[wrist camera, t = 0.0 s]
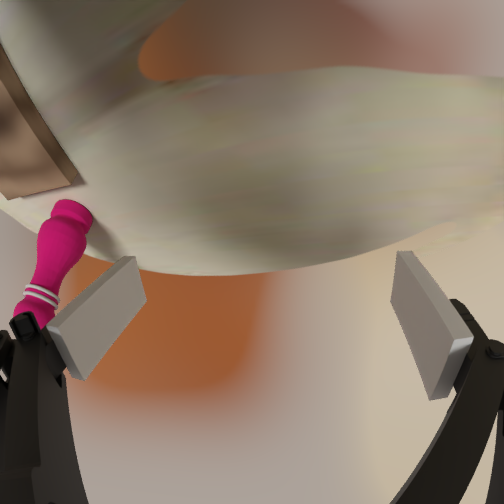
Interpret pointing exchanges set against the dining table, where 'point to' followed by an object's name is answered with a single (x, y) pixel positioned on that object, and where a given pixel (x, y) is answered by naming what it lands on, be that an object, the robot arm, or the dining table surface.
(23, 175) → the wooden bookend
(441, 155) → the dining table surface
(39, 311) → the pepper mill
